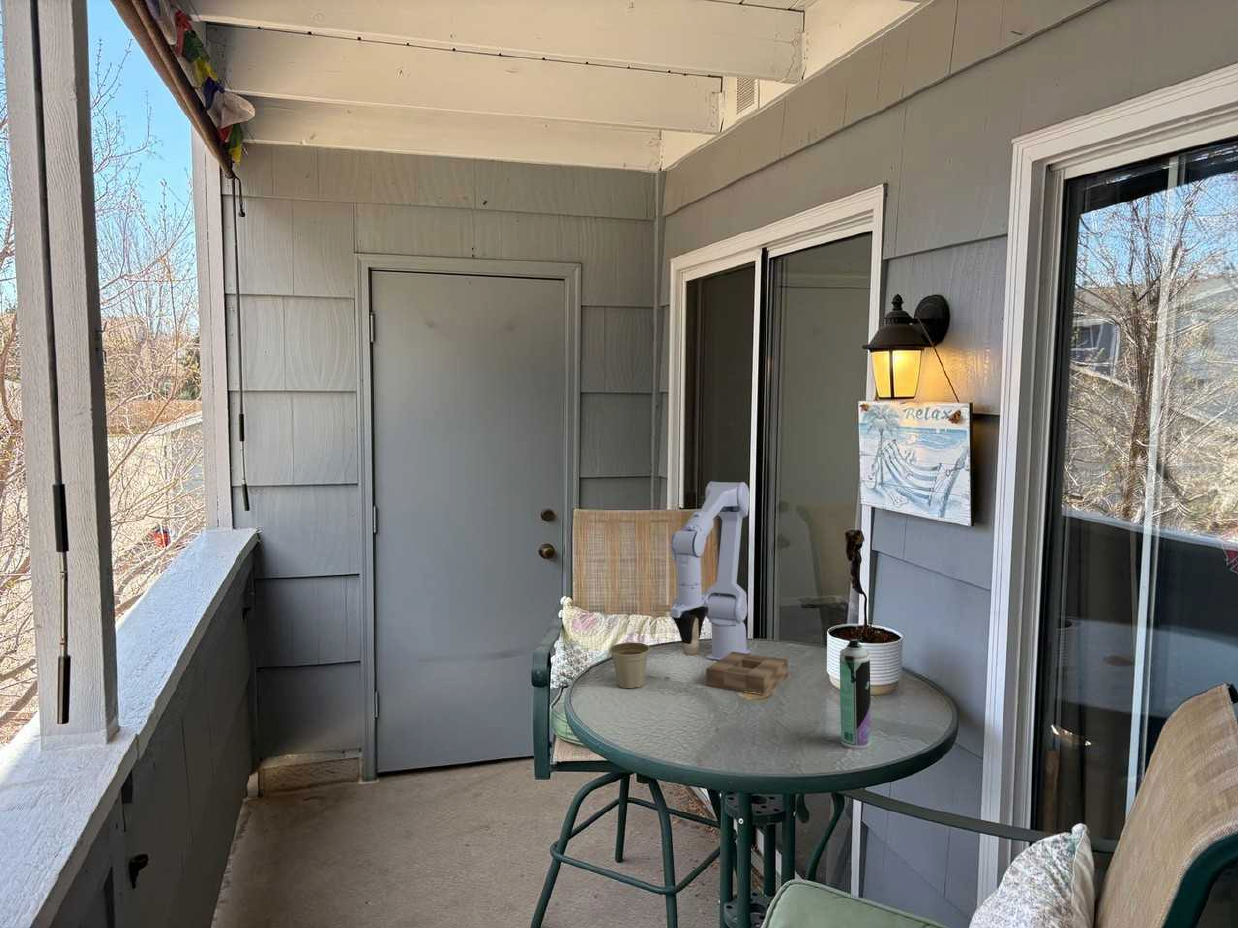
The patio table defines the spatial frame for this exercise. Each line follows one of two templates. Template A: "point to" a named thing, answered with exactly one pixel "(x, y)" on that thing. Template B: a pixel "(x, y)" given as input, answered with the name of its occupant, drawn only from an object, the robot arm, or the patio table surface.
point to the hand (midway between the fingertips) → (691, 640)
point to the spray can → (855, 696)
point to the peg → (693, 642)
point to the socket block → (747, 672)
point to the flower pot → (630, 663)
